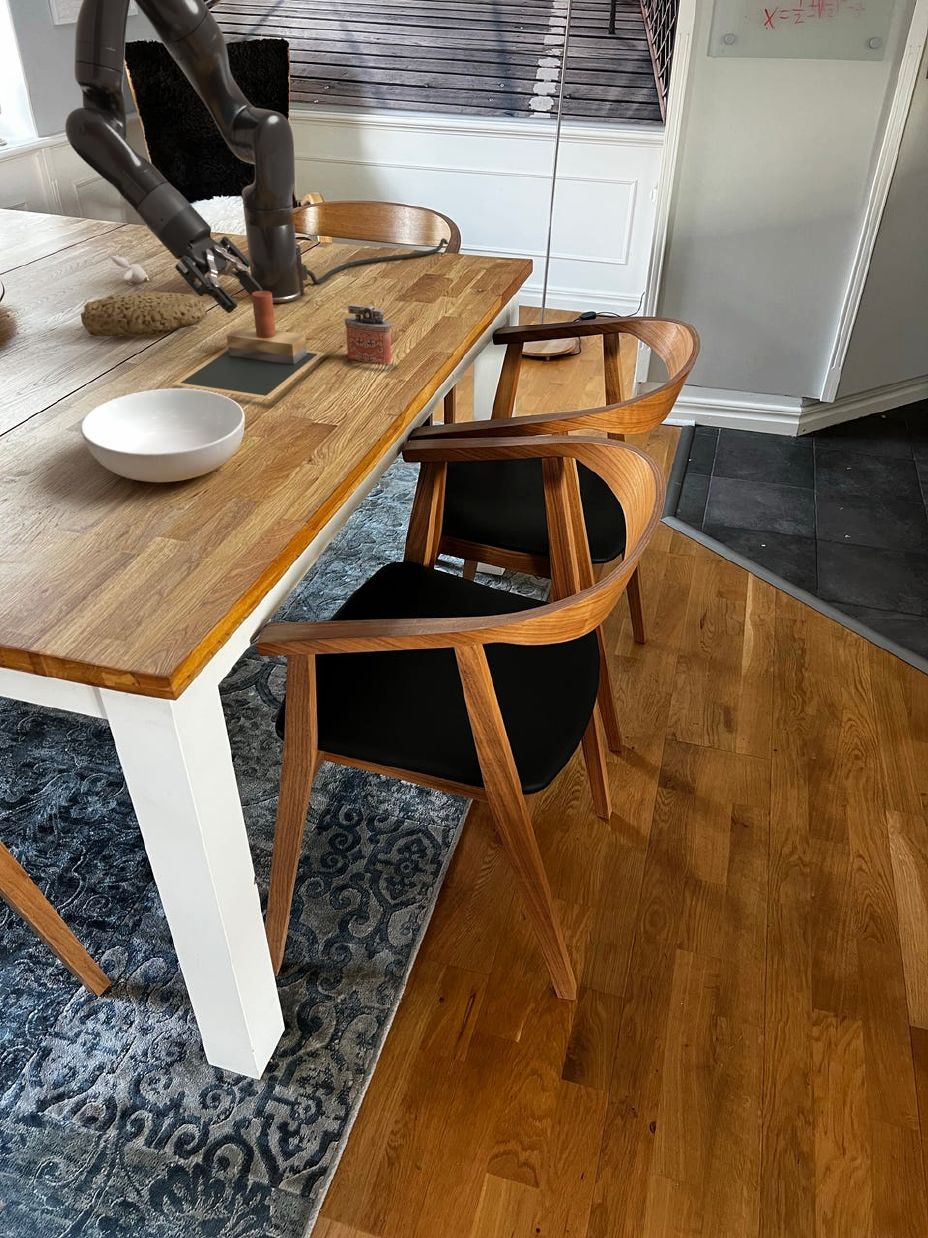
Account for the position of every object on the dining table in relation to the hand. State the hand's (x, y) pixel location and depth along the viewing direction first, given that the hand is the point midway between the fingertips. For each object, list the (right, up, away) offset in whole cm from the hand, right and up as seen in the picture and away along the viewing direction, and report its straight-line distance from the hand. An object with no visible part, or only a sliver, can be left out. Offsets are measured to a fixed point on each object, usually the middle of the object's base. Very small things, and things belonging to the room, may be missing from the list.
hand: (246, 301), depth 155 cm
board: (+1, -12, +1) cm, 12 cm away
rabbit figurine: (-32, +16, +39) cm, 53 cm away
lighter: (+20, -9, +5) cm, 22 cm away
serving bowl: (-4, -31, -26) cm, 41 cm away
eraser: (+3, -8, +4) cm, 9 cm away
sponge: (-21, 0, +16) cm, 27 cm away
